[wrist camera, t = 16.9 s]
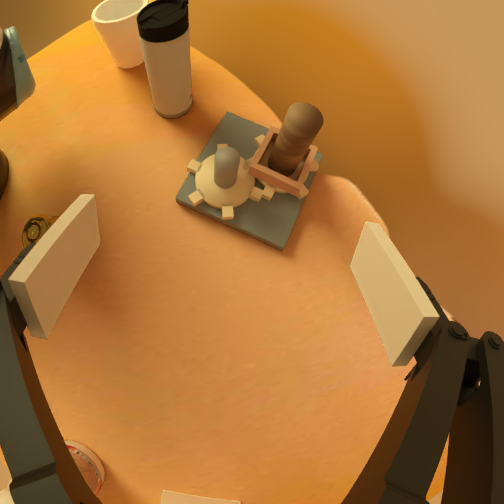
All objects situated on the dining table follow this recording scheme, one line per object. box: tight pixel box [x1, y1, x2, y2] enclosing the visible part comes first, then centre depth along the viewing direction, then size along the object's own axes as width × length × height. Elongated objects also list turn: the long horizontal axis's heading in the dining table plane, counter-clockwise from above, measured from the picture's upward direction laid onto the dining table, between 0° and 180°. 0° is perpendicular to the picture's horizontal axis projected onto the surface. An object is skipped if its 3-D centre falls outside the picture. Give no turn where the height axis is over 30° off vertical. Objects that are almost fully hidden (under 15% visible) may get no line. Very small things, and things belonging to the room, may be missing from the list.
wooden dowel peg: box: [268, 102, 323, 177], centre depth 37 cm, size 4×4×12 cm
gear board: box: [176, 112, 323, 251], centre depth 41 cm, size 16×16×9 cm
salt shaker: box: [22, 214, 60, 248], centre depth 35 cm, size 7×8×10 cm
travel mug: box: [136, 0, 193, 118], centre depth 37 cm, size 6×7×20 cm
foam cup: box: [91, 0, 149, 69], centre depth 41 cm, size 10×9×13 cm
